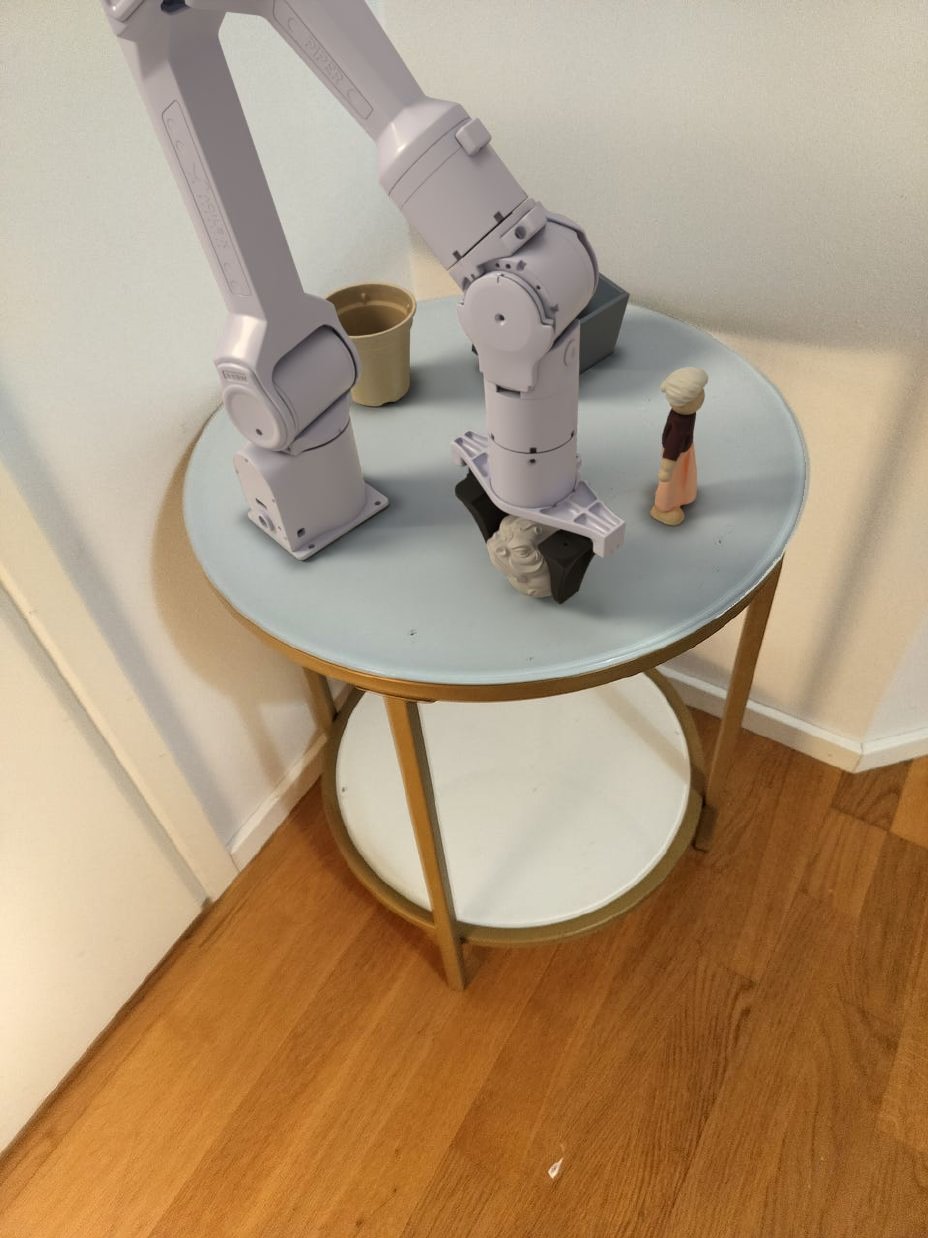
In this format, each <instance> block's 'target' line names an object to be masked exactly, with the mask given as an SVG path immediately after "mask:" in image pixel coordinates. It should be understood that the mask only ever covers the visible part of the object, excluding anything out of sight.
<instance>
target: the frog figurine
mask: <svg viewBox="0 0 928 1238" xmlns="http://www.w3.org/2000/svg"><path fill="white" fill-rule="evenodd" d="M557 530H560V529H559V528H556V527H552V526H549V525H545V524H542V523H538V522H535V521H531V520H528V519H524V518H521V517H517V516H514V515H511V514H510V515H508V516H507V517H505V518H504V519H503V520H502V522H501V524H500V529H499V530H497V531H496V532H495V533H494V534H493V536H492V538H490V539H489V540H488V541H487V545H486V548H487V550H488V555H489V560H490V561H491V562H492V565H493V566H494V568H496V569H498V570H499V571H500V572H501V573H502V574H503V575H505V576H506V578H507V580H508V582H509V583H510V585H511V586H512V587H513V589H515V590H516V591H517V592H519V593H520V594H522V595H524V596H528V597H530V598H544V597H549V596H552V593H551V582H550V573H549V569H548V566H547V563H546V561H545V559H544V557H543V555H542V554H541V552H540V551H539V550H538V544H539V543H541V542H542V541H543V540H545V539H546V538H548V537H549V536H550V535H552V534H553V533H554V532H556V531H557Z"/></svg>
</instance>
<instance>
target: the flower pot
mask: <svg viewBox="0 0 928 1238" xmlns="http://www.w3.org/2000/svg"><path fill="white" fill-rule="evenodd" d="M322 298H323V299H325V300H327V301H329V302H331V303H332V304H334V307H335V310H336V313H337V316H338V319H339V321H340V323H341V325H342V327H343V329H344V330H345V332H346V333H347V335H348V336H349V337H350V339H351V340H352V342H353V343H354V345H355V347H356V349H357V351H358V354H359V357H360V360H361V366H362V373H361V377H360V380H359V382H358V383H357V384H356V385H355V386H354V387H353V388H352V389H351V394H352V399H353V402H354V403H357V404H359V405H361V406H367V407H380V406H382V405H383V404H386V403H389V402H391V403H392V402H393V403H395V402H397V401H399V400H400V399H401V398H403V397H404V396H405V395H406V394H407V393H408V391H409V390H410V386H411V379H410V378H411V376H410V375H411V373H410V371H411V369H410V368H411V361H410V360H411V329H412V328H413V327H412V326H413V323H414V317H415V314H416V313H417V305H418V304H417V300H416V298H415V296H414V294H413V293H412V292H411V291H409V290H408V289H406V288H405V287H403V286H400V285H397V284H394V283H389V282H383V281H381V282H380V281H368V282H366V281H365V282H359V283H353V284H349V285H346V286H343V287H340V288H338V289H336V290H333V291H331V292H330V293H328V294H326V296H324V297H322Z"/></svg>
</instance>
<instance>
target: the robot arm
mask: <svg viewBox="0 0 928 1238" xmlns="http://www.w3.org/2000/svg"><path fill="white" fill-rule="evenodd" d="M99 1H100V5H101V6H102V8H103V9H102V10H103V11H104V13H105V16H106V18H107V21H108V24H109V26H110V28H111V31H112V33H113V34H114V35H115V37H116V39H117V41H118V44H119V46H120V48H121V50H122V53H123V55H124V58H125V61H126V63H127V65H128V68H129V70H130V73H131V75H132V78H133V80H134V83H135V85H136V88H137V90H138V92H139V96H140V97H141V99H142V102H143V105H144V107H145V110H146V113H147V115H148V118H149V120H150V123H151V124H152V127H153V129H154V131H155V134H156V137H157V139H158V142H159V144H160V146H161V147H160V148H161V149H162V151H163V154H164V156H165V159H166V161H167V163H168V166H169V169H170V171H171V173H172V176H173V179H174V181H175V183H176V186H177V189H178V191H179V194H180V196H181V198H182V200H183V203H184V205H185V208H186V210H187V213H188V216H189V218H190V220H191V223H192V225H193V227H194V230H195V233H196V235H197V238H198V239H199V240H198V241H199V242H200V245H201V247H202V250H203V252H204V254H205V257H206V259H207V262H208V264H209V267H210V270H211V271H212V274H213V277H214V279H215V282H216V284H217V287H218V290H219V291H220V294H221V296H222V299H223V301H224V304H225V306H226V308H227V311H228V314H227V319H226V321H225V324H224V327H223V329H222V332H221V335H220V338H219V340H218V343H217V346H216V348H215V350H214V354H213V359H212V362H213V364H214V366H215V368H216V369H215V370H216V371H217V374H218V376H219V380H220V385H221V399H222V404H223V408H224V410H225V413H226V415H227V417H228V419H229V420H230V422H231V423H232V425H233V427H235V429H236V430H237V432H239V433H240V434H241V435H242V436H243V438H245V439H246V440H248V442H247V443H246V444H245V445H243V446H242V447H241V448H240V449H239V450H238V451H237V452H235V454H234V455H233V459H232V460H233V467H234V470H235V474H236V476H237V478H238V479H237V480H238V482H239V484H240V488H241V490H242V493H243V495H244V499H245V501H246V504H247V507H248V510H249V511H248V512H247V516H248V518H249V520H251V522H252V523H254V524H255V525H256V526H257V527H259V528H260V529H261V530H262V531H264V533H266V534H267V535H268V536H270V537H271V538H272V539H273V540H274V541H275V542H276V543H277V544H279V545H280V546H282V547H283V549H285V550H286V551H287V552H289V554H291V555H292V557H294V558H295V559H297V560H299V561H304V560H306V559H308V558H310V557H311V556H313V555H314V554H316V553H317V552H319V551H320V550H322V549H323V548H325V547H326V546H328V545H330V544H331V543H332V542H334V541H336V540H338V538H340V537H342V536H343V535H345V534H346V533H349V531H351V530H352V529H354V528H356V527H357V526H358V525H360V524H362V523H363V522H365V521H366V520H368V519H369V518H370V517H371V518H372V516H374V515H375V514H377V513H378V512H380V511H381V510H383V509H384V508H386V507H387V506H389V504H390V502H389V498H388V497H387V496H385V495H383V494H382V493H381V492H379V491H378V490H377V489H375V488H374V487H373V486H371V485H370V484H368V483H367V482H365V480H364V476H363V471H362V466H361V461H360V457H359V451H358V447H357V443H356V438H355V434H354V429H353V425H352V418H351V415H350V408H351V407H352V405H353V404H354V401H353V399H352V394H351V389H352V388H353V387H354V386H355V385H356V384H357V383H358V382H359V380H360V377H361V373H362V366H361V360H360V357H359V354H358V351H357V349H356V347H355V345H354V343H353V342H352V340H351V339H350V337H349V336H348V335H347V333H346V332H345V330H344V329H343V327H342V325H341V323H340V321H339V319H338V316H337V313H336V310H335V307H334V304H332V303H331V302H329V301H327V300H325V299H323V298H324V297H321V296H318V295H315V294H312V293H308V292H305V290H304V287H303V285H302V282H301V279H300V275H299V273H298V269H297V267H296V263H295V261H294V258H293V254H292V252H291V249H290V246H289V244H288V240H287V238H286V234H285V231H284V228H283V225H282V222H281V219H280V216H279V214H278V213H279V212H278V210H277V207H276V204H275V202H274V198H273V195H272V192H271V190H270V186H269V183H268V180H267V178H266V175H265V172H264V169H263V165H262V162H261V160H260V157H259V154H258V151H257V148H256V145H255V142H254V139H253V136H252V133H251V131H250V127H249V124H248V122H247V121H248V120H247V119H246V115H245V113H244V110H243V107H242V103H241V100H240V97H239V95H238V92H237V88H236V86H235V83H234V80H233V77H232V74H231V70H230V68H229V65H228V62H227V58H226V56H225V53H224V50H223V48H222V44H221V41H220V37H219V32H220V29H221V26H222V24H223V22H224V19H225V17H226V14H227V13H231V14H232V13H233V14H241V15H250V16H257V17H261V18H263V19H265V21H267V22H268V23H269V24H270V25H271V27H272V28H273V29H274V31H276V33H277V34H278V35H279V36H280V37H281V38H282V39H283V40H284V42H285V43H286V44H287V45H288V46H289V47H290V48H291V50H292V51H293V52H294V53H295V54H296V55H297V56H298V57H299V58H300V60H301V61H302V62H303V63H304V64H305V65H306V66H307V68H308V69H309V70H310V71H311V72H312V73H313V75H315V77H316V78H317V79H318V80H319V81H320V82H321V83H322V84H323V85H324V87H325V88H326V89H327V91H329V92H330V93H331V95H332V96H333V97H334V98H335V99H336V101H338V103H340V105H341V106H342V107H343V108H344V109H345V110H346V112H347V113H348V114H349V115H350V116H351V117H352V118H353V120H354V121H355V122H356V123H357V124H358V125H359V126H360V128H361V129H363V131H364V132H365V133H366V134H367V135H368V137H369V138H370V139H371V140H372V141H373V142H374V143H375V144H376V148H377V180H378V184H379V187H380V188H381V189H382V190H383V191H384V193H386V195H387V196H388V198H389V199H390V200H391V202H392V203H393V205H395V207H396V208H397V210H398V211H399V212H400V213H401V214H402V215H403V217H404V218H405V219H406V221H407V222H408V223H409V225H410V226H411V227H412V229H413V230H414V231H415V232H416V234H417V235H418V236H419V237H420V238H421V240H422V241H423V243H425V245H426V246H427V248H428V249H429V250H430V251H431V253H432V254H433V255H434V257H435V258H436V259H437V261H438V262H439V263H440V264H441V266H443V268H444V269H445V271H446V272H447V271H448V275H449V276H450V277H451V279H452V280H453V281H454V282H455V283H456V285H457V286H458V288H459V289H460V290H461V292H462V293H463V298H462V299H461V300H460V302H457V303H456V304H455V308H456V313H457V317H458V321H459V323H460V325H461V327H462V330H463V331H464V333H465V335H466V336H467V338H468V340H469V341H470V342H471V344H472V343H473V345H474V346H475V348H476V350H477V353H478V356H477V357H478V364H479V365H478V367H479V372H480V373H482V374H483V387H484V388H483V389H484V401H485V402H484V405H485V418H486V419H485V420H486V435H485V434H482V433H480V432H478V431H476V430H474V429H472V428H469V429H467V430H466V431H464V432H462V433H460V434H459V435H457V436H456V437H455V438H453V439H451V440H450V441H449V442H450V450H451V451H450V452H451V459H452V460H451V461H452V463H454V464H455V465H457V466H458V467H459V468H460V467H461V468H464V467H467V469H468V472H467V473H466V477H465V478H464V479H462V480H460V481H459V482H457V484H456V485H455V487H454V495H455V497H456V498H457V499H458V500H459V501H460V502H461V503H462V504H463V506H464V507H465V508H466V509H467V510H468V512H469V513H470V515H471V516H472V518H473V519H474V522H475V523H476V525H477V528H478V529H479V531H480V534H481V537H482V539H483V540H484V542H485V543H484V544H485V545H486V546H487V541H488V540H489V539H490V538H492V536H493V534H494V533H495V532H496V531H497V530H499V529H500V524H501V522H502V520H503V519H504V518H505V517H507V516H508V515H510V514H511V515H514V516H517V517H521V518H524V519H528V520H531V521H535V522H538V523H542V524H545V525H549V526H552V527H556V528H559V529H560V530H557V531H556V532H554V533H553V534H552V535H550V536H549V537H548V538H546V539H545V540H543V541H542V542H541V543H539V544H538V550H539V551H540V552H541V554H542V555H543V557H544V559H545V561H546V563H547V566H548V569H549V573H550V582H551V593H552V594H551V597H552V599H553V601H554V602H555V603H557V604H559V605H563V604H564V603H566V602H567V601H568V600H570V599H571V598H572V597H574V595H576V594H577V593H578V592H579V590H580V588H581V585H582V583H583V579H584V577H585V575H586V572H587V571H588V568H589V566H590V564H591V562H592V560H593V559H594V557H595V556H596V555H597V556H599V557H601V558H602V559H606V558H607V557H608V556H610V555H611V554H613V553H614V552H615V551H616V550H617V549H619V548H620V547H621V546H622V545H624V544H625V537H626V536H625V533H626V526H627V525H626V524H627V523H626V522H627V521H625V520H623V519H622V518H620V517H619V516H618V515H616V514H615V513H614V512H613V511H612V510H611V509H610V508H609V507H608V506H607V504H605V502H604V501H603V500H602V499H601V497H600V496H599V495H598V494H597V492H596V491H595V490H594V489H593V488H592V487H591V485H590V484H589V482H588V481H586V479H585V478H584V476H583V475H582V474H581V473H580V471H579V470H578V469H580V468H581V467H582V464H583V463H582V458H583V457H582V456H581V455H580V454H579V453H578V451H577V448H578V447H577V446H578V422H579V421H578V420H579V419H578V418H579V417H578V416H579V386H580V385H579V383H580V375H579V343H580V321H579V320H578V319H574V318H575V317H576V316H577V315H578V314H579V313H580V312H581V311H582V310H583V309H584V308H585V307H586V305H587V304H588V302H589V300H590V299H591V298H592V296H593V294H594V293H595V290H596V288H597V284H598V279H599V272H600V269H599V268H600V267H599V262H598V261H599V260H598V257H597V255H596V252H595V250H594V248H593V246H592V244H591V242H590V241H589V239H588V236H587V234H586V231H585V229H584V228H583V227H582V226H581V225H579V224H578V223H577V222H575V221H574V220H573V219H571V218H569V217H567V216H566V215H562V214H560V213H556V212H552V211H550V210H549V209H547V208H546V207H545V206H544V205H543V204H542V202H541V200H538V201H536V200H535V199H534V198H533V197H531V198H529V196H528V194H527V193H526V191H525V190H524V188H523V187H522V185H520V183H519V182H518V181H517V179H516V177H514V175H513V174H512V172H511V171H510V170H509V168H508V167H507V165H506V164H505V163H504V161H503V160H502V158H500V156H499V154H498V153H497V151H495V149H494V148H493V147H492V145H491V144H490V143H491V141H492V138H493V137H492V134H491V133H490V132H489V130H488V129H487V127H486V126H485V125H484V123H483V122H482V121H481V119H480V118H479V117H474V118H473V119H472V117H471V116H470V114H469V113H468V112H467V110H466V109H465V108H464V106H463V105H462V104H460V103H459V102H455V101H451V100H446V99H440V98H436V97H430V96H428V95H426V94H425V92H424V91H423V89H422V88H421V86H420V85H419V83H418V82H417V80H416V78H415V77H414V75H413V73H412V72H411V71H410V69H409V67H408V66H407V65H406V62H405V61H404V60H403V58H402V57H401V55H400V53H399V52H398V50H397V49H396V47H395V46H394V44H393V43H392V41H391V39H390V38H389V36H388V35H387V33H386V31H385V30H384V29H383V27H382V26H381V24H380V22H379V21H378V19H377V18H376V16H375V14H374V13H373V11H372V9H371V8H370V7H369V5H368V3H367V2H366V0H99Z"/></svg>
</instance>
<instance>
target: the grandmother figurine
mask: <svg viewBox="0 0 928 1238" xmlns="http://www.w3.org/2000/svg"><path fill="white" fill-rule="evenodd" d="M708 382H709V374H708V372H707V371H705V370H704V369H702V368H698V367H696V366H686V367H680V368H677V369H676V370H674V371H672V372H671V373H670V374H669V375H668V376H667V377H665V379H664V380H663V381H662V382H661V384H660V385H659V390H660V391H661V392H662V393H665V398H666V400H667V401H668V403H669V406H670V407H671V409H670V411H669V412H668V415H667V418H666V421H665V424H664V427H663V431H662V434H661V463H660V469H659V471H658V473H657V478H658V486H657V489H656V490H655V492H654V498H655V499H654V505H653V506H652V507H651V509H650V512H649V514H650V516H651V518H653V519H655V520H656V521H659V522H661V523H663V524H665V525H667V526H673V527H674V526H679V525H680V524H682V523H683V521H684V519H685V512H684V511H683V510H682V508H681V506H683V505H689V504H691V503H693V502H694V501H695V499H697V492H698V491H697V490H698V470H697V469H698V468H697V460H696V450H695V449H696V448H695V443H694V442H695V441H694V432H695V426H696V419H697V412H698V411H699V410H700V409H701V408H702V406H703V405H704V402H705V398H706V393H705V389H704V388H705V387H706V385H707V384H708Z"/></svg>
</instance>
